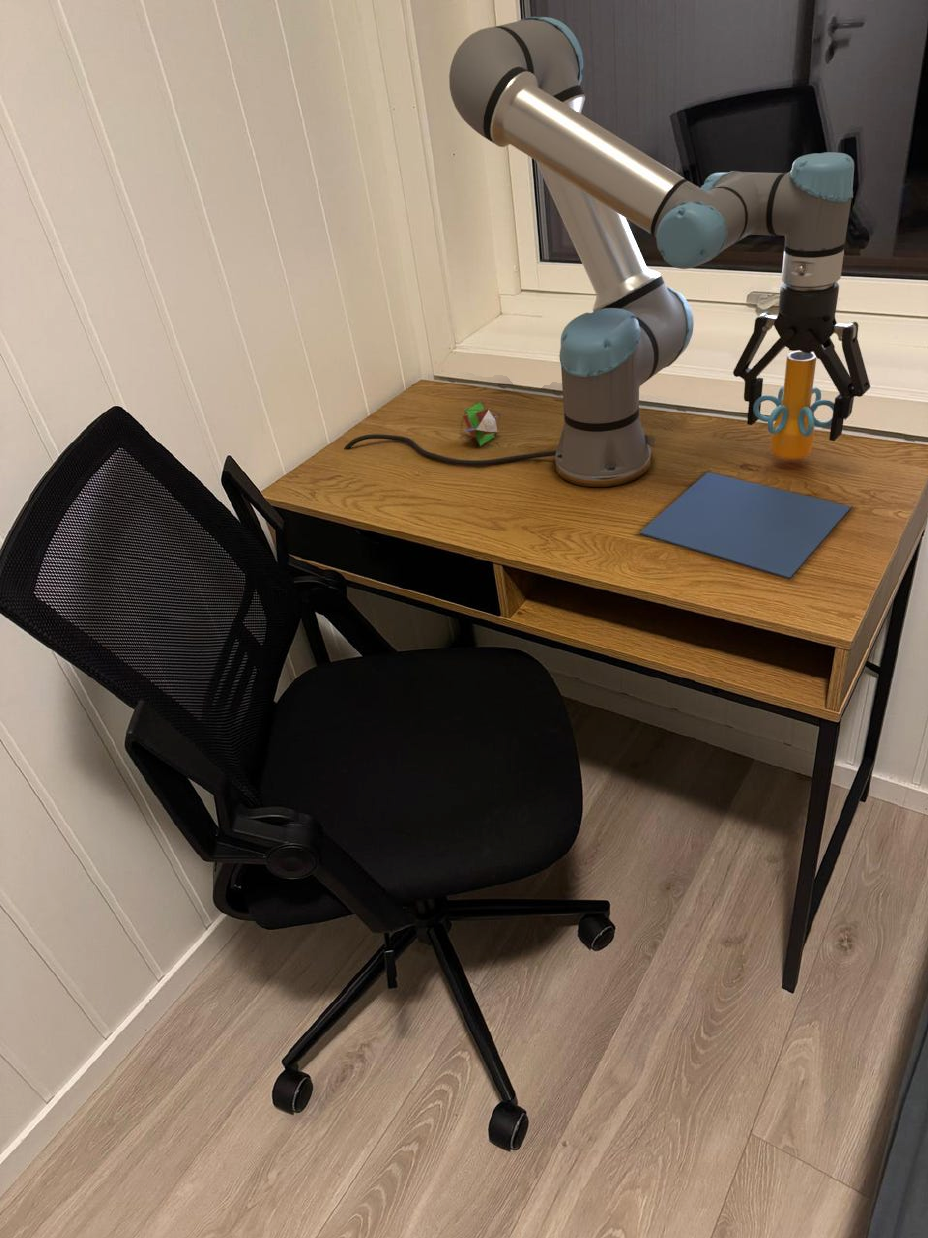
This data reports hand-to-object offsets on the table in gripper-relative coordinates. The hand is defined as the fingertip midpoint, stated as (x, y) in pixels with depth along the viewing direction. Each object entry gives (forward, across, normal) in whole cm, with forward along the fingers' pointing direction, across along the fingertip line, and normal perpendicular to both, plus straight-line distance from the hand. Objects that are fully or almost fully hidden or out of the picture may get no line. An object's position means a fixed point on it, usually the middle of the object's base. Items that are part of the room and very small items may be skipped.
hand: (793, 429), depth 129 cm
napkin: (+5, +2, -19) cm, 20 cm away
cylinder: (+4, 0, 0) cm, 4 cm away
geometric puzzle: (+5, -49, -16) cm, 52 cm away
